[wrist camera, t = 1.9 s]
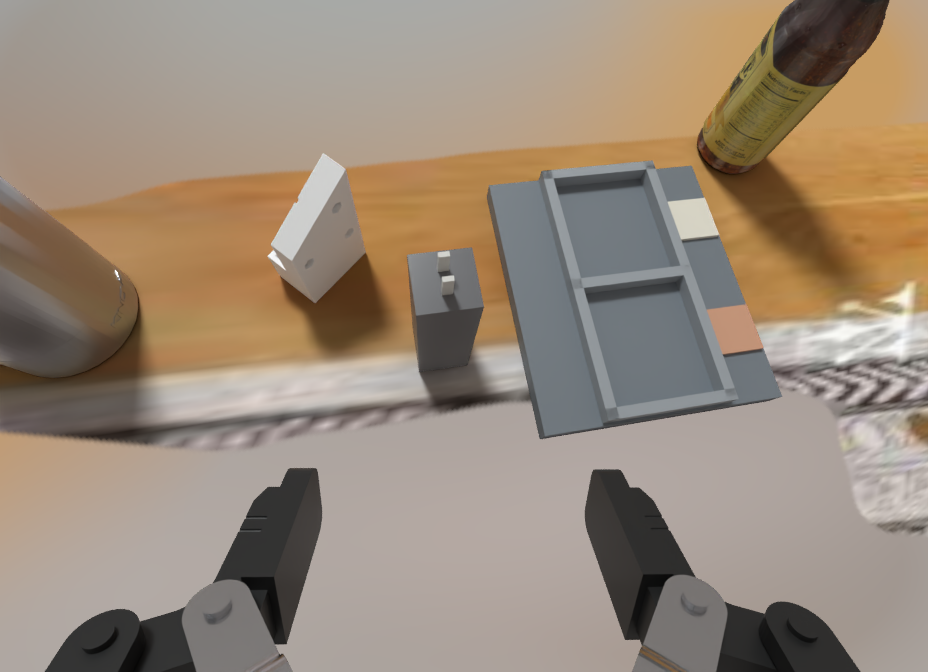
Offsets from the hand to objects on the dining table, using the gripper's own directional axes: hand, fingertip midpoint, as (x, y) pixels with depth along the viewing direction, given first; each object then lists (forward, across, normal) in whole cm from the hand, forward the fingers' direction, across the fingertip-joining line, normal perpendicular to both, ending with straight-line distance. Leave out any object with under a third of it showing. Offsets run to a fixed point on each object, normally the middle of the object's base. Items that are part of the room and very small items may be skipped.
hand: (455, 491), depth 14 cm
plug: (+22, 0, +6) cm, 22 cm away
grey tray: (+25, -14, +2) cm, 29 cm away
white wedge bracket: (+26, +10, +1) cm, 28 cm away
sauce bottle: (+36, -26, -8) cm, 45 cm away
